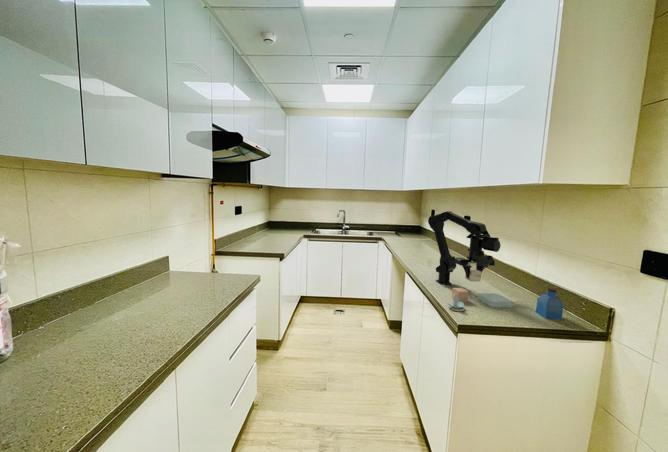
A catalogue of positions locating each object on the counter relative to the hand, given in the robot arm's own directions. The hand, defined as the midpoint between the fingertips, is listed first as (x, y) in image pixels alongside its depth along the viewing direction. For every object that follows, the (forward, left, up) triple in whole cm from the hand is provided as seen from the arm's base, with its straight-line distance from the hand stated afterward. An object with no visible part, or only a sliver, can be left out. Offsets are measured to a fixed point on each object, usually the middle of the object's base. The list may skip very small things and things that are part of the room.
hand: (472, 277), depth 136 cm
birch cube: (0, 0, -1) cm, 1 cm away
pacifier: (+19, -20, -8) cm, 28 cm away
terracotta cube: (+9, -12, -8) cm, 17 cm away
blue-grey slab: (+13, +3, -8) cm, 16 cm away
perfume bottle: (+27, +17, -8) cm, 33 cm away
